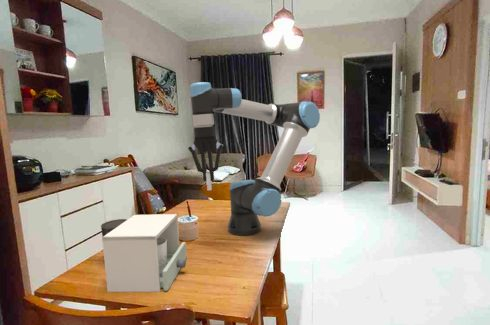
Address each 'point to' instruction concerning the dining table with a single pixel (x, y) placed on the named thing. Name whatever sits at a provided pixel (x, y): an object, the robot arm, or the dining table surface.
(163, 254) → the white cup
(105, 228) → the coffee can
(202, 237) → the dining table surface
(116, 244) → the box
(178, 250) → the tray
